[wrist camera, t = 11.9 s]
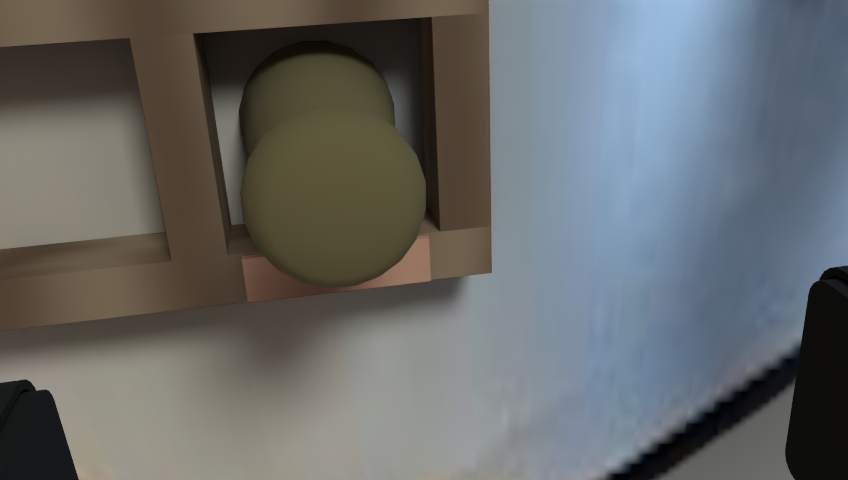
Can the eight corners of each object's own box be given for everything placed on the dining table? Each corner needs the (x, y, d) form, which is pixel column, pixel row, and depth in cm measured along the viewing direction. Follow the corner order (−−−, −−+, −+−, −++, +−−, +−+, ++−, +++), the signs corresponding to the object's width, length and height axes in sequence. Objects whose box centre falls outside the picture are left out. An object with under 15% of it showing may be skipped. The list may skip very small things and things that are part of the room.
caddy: (467, -53, 29) (490, -49, 26) (474, 243, 34) (493, 275, 31) (-181, -16, 26) (-240, -6, 23) (-74, 305, 31) (-111, 348, 28)
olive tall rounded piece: (384, 198, 32) (433, 326, 22) (233, 185, 31) (214, 314, 21) (405, 51, 30) (469, 119, 20) (244, 30, 29) (229, 92, 19)
